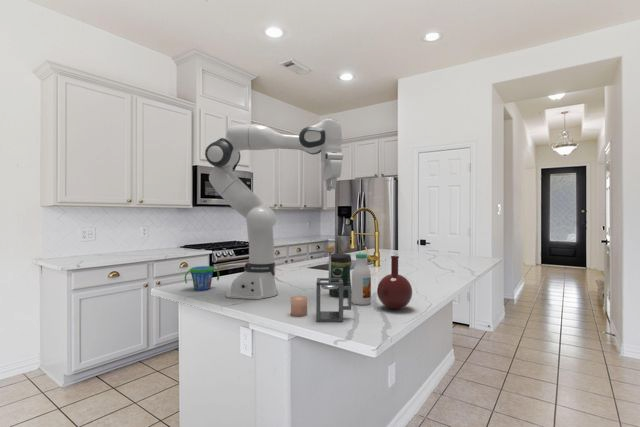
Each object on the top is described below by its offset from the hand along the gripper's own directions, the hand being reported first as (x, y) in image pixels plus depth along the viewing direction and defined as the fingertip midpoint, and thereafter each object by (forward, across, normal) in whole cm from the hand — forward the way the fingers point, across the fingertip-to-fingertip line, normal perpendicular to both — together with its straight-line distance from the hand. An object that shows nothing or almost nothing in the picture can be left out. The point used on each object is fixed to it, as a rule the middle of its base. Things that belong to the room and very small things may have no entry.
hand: (331, 190), depth 154 cm
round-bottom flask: (+46, +20, +21) cm, 55 cm away
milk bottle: (+46, +10, +11) cm, 49 cm away
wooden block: (+46, +22, -16) cm, 54 cm away
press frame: (+46, +28, -5) cm, 54 cm away
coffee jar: (+46, -4, +5) cm, 47 cm away
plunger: (+36, +28, -6) cm, 46 cm away
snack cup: (+46, -27, -56) cm, 78 cm away
